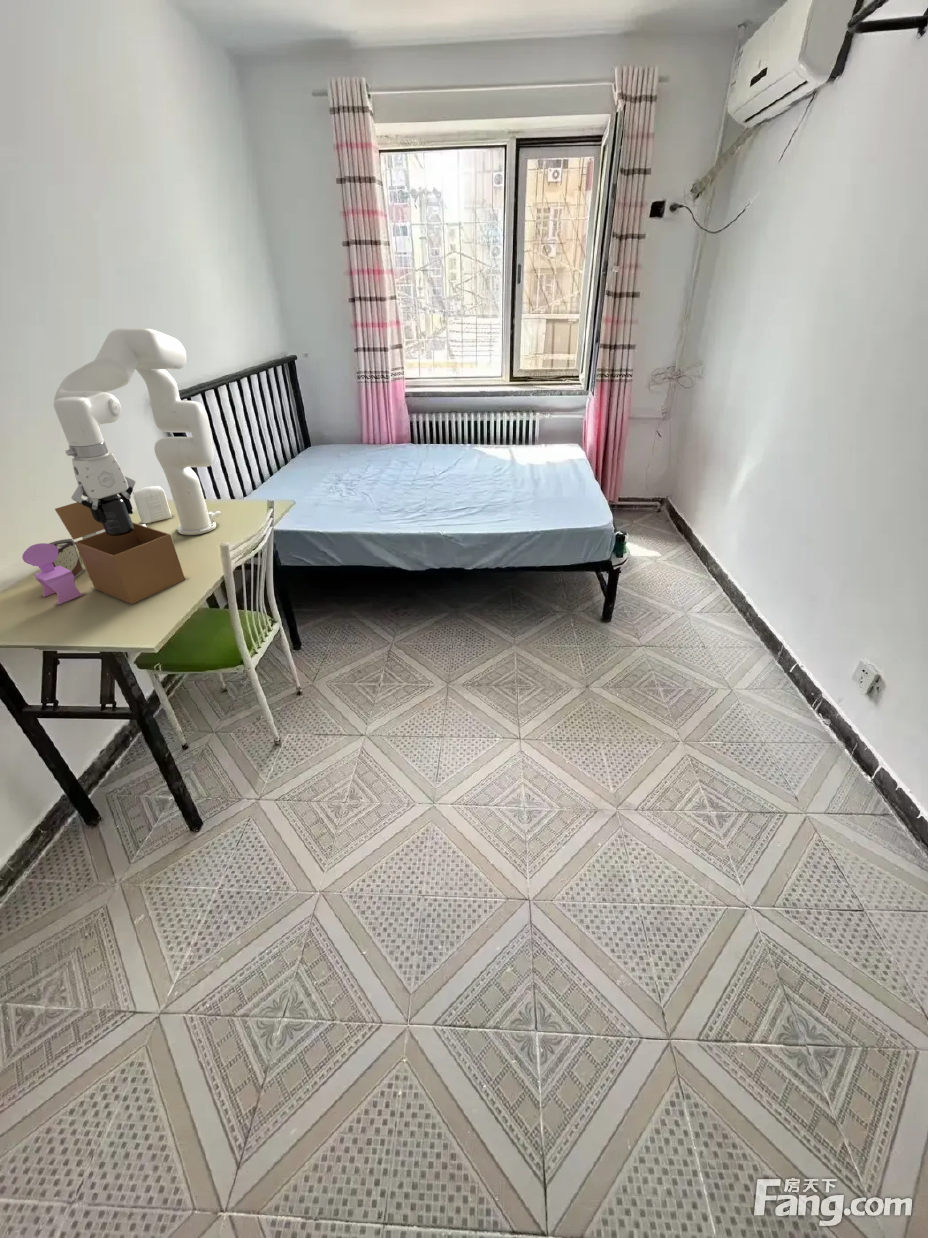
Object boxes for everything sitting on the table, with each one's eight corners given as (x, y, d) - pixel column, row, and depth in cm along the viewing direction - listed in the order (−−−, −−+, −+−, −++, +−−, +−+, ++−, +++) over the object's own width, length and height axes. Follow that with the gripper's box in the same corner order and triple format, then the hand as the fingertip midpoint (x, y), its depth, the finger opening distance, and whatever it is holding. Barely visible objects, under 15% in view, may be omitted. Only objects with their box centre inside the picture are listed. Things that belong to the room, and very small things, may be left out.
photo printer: (169, 514, 197) (159, 482, 190) (174, 517, 194) (163, 485, 187) (140, 521, 191) (128, 489, 184) (144, 525, 188) (132, 491, 181)
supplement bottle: (140, 528, 144) (125, 486, 138) (119, 538, 139) (102, 494, 132) (121, 525, 146) (105, 483, 140) (100, 534, 141) (82, 491, 134)
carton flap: (73, 539, 141) (73, 539, 141) (131, 519, 153) (130, 520, 153) (54, 508, 138) (54, 508, 138) (115, 491, 149) (114, 491, 150)
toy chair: (55, 606, 140) (29, 556, 132) (39, 598, 144) (14, 548, 136) (87, 593, 146) (65, 544, 138) (71, 585, 150) (48, 537, 142)
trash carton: (94, 588, 149) (74, 542, 141) (148, 565, 161) (132, 522, 153) (132, 604, 142) (113, 556, 134) (185, 579, 153) (170, 534, 146)
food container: (65, 568, 159) (51, 538, 154) (86, 568, 160) (73, 537, 154) (41, 588, 149) (25, 556, 143) (63, 587, 149) (48, 556, 144)
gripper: (61, 460, 123) (90, 531, 132) (132, 444, 135) (153, 509, 145) (44, 456, 126) (74, 525, 135) (115, 440, 138) (137, 505, 148)
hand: (115, 517), depth 140 cm, fingers closed on supplement bottle, 6 cm apart
